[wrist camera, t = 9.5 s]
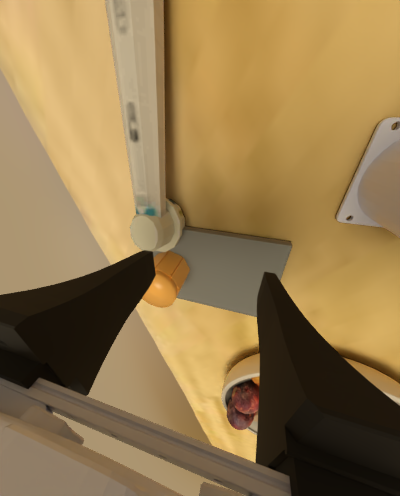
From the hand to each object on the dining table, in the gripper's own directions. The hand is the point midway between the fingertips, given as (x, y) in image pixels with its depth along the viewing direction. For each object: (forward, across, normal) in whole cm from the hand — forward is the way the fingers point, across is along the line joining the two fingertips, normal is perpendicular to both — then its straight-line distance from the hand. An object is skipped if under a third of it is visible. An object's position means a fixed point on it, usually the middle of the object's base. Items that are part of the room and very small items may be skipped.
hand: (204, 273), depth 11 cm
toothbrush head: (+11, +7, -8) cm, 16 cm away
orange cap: (+10, +7, +8) cm, 14 cm away
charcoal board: (+10, +2, +8) cm, 13 cm away
